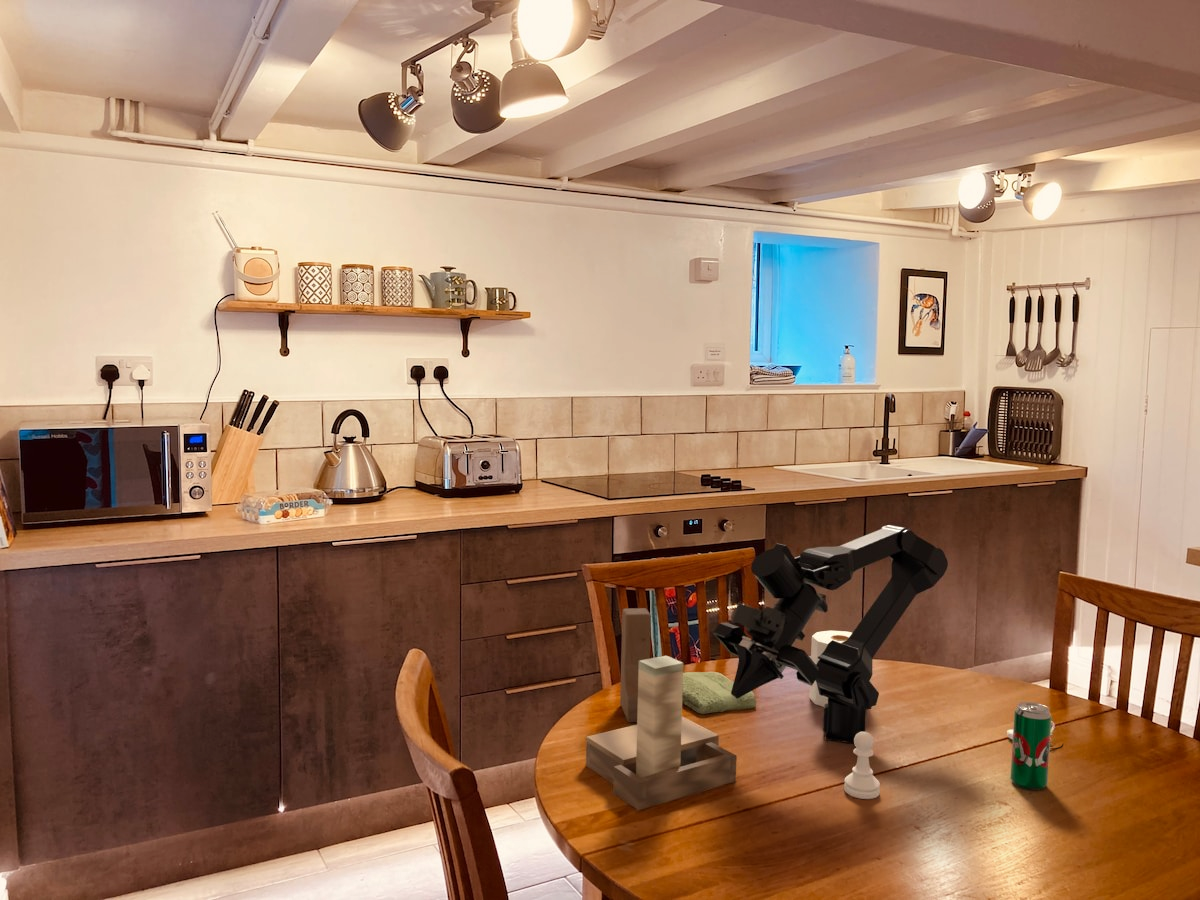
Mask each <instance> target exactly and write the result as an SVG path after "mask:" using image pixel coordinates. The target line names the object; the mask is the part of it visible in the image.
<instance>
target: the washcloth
mask: <svg viewBox="0 0 1200 900" xmlns="http://www.w3.org/2000/svg"><path fill="white" fill-rule="evenodd" d="M733 683H734V680H731V679H729V678H728V677H726V676H725V675H724V674H722V673H721V672H719V671H718V672H716V671H705V672H704V671H703V672H701V671H696V672H695V671H694V672H693V671H692V672H691V671H690V672H689V671H687V672H683V692H682V704H683V705H685V706H686V707H689V708H690V709H692V710H693V712H694V711H695V713H697V714H700V715H706V714H711V713H712V714H713V713H724V712H725V711H731V710H735V711H739V710H746V709H748V710H749V709H753V708H755V707H756V706H757V704H758V703H757V699H756V694H754V692H753V690H752V691H751V692H749V693H747V694H745V695H743V696H742V697H740V698H738V699H737V698H735V697H733V696H732V695H731V691H732V687H733Z"/></svg>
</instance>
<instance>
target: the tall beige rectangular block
mask: <svg viewBox="0 0 1200 900" xmlns="http://www.w3.org/2000/svg"><path fill="white" fill-rule="evenodd" d="M683 673H684V662H683V661H681V660H678V659H675V658H674V657H671V656H668V655H663V656H658V657H650V659H645V660H640V661H639V670H638V711H637V723H636V725H637V752H636V775H638V776H639V777H641V778H642V777H645V776H649V775H653V774H656V773H660V772H663V771H667V770H671V769H674V768H678V767H680V761H681V727H682V716H683V703H682V692H683Z"/></svg>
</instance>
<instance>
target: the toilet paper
mask: <svg viewBox="0 0 1200 900" xmlns="http://www.w3.org/2000/svg"><path fill="white" fill-rule="evenodd" d="M852 633H853V632H852V631H851V632H850V631H843V630H823V631H817V632H815V633H814V634H813V635H812V636H811V648H810V649H811V651H810V653H811V654H810V658H811V659H812V660H813V662H814V663H815V664H817V662H818V661H819V660H820V659H818V656H820V655H821V654H822V653H823V652H824V650H825V649H826V647H827V645H828V643H830V642H831V641H832V640H833V641H836V642H839V643H842V642H844V641H846V640H847V639H848V638H849V637H850V636H851V634H852ZM809 700H811V701H812V702H813V704H815V705H816V706H820V707H822V708H824V705H825V704H828V697H825V696H821V695H819V691H818V687H817V683H816V680H815V682H814V683H813V685H812V686H811V685H809Z"/></svg>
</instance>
